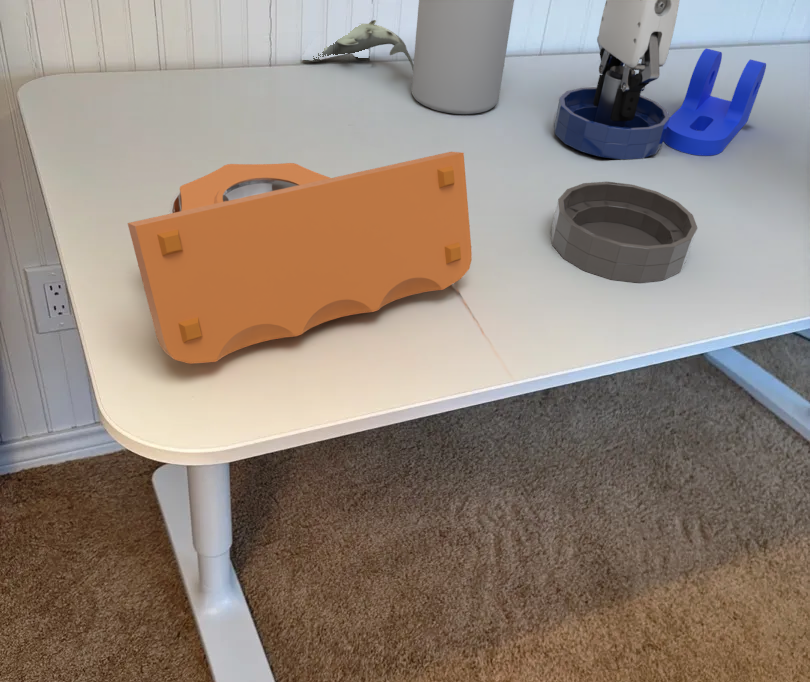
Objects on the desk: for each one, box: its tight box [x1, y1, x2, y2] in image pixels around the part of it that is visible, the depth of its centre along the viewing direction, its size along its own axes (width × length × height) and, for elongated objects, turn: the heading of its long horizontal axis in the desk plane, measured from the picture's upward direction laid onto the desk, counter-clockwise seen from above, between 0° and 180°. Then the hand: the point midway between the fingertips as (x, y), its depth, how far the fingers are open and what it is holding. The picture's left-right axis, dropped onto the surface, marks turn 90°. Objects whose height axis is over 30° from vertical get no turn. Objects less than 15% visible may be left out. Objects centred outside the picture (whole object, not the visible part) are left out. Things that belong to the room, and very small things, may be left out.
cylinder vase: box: [411, 0, 515, 115], centre depth 110 cm, size 12×12×25 cm
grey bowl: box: [550, 181, 698, 284], centre depth 87 cm, size 14×14×4 cm
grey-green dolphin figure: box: [313, 19, 414, 70], centre depth 124 cm, size 14×17×8 cm
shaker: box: [594, 65, 636, 127], centre depth 108 cm, size 4×4×8 cm
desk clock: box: [127, 151, 473, 365], centre depth 76 cm, size 12×30×20 cm
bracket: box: [663, 48, 767, 157], centre depth 113 cm, size 18×8×9 cm, turn 148°
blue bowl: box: [553, 86, 671, 160], centre depth 110 cm, size 14×14×4 cm
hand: (613, 111), depth 109 cm, fingers closed on shaker, 4 cm apart
